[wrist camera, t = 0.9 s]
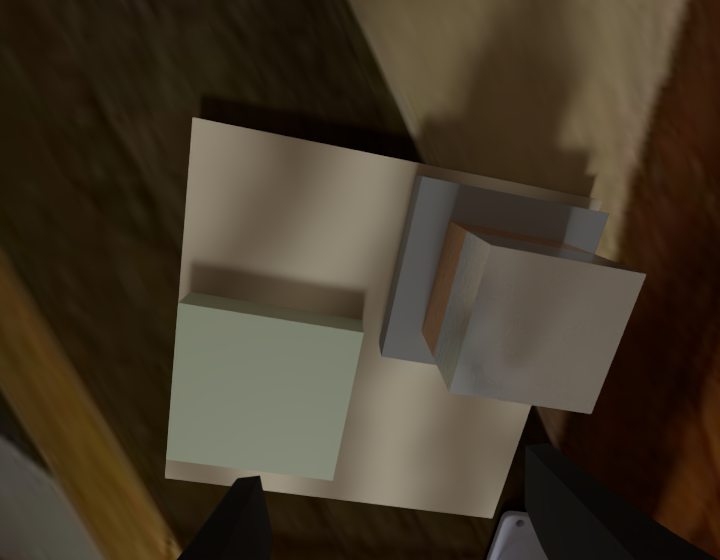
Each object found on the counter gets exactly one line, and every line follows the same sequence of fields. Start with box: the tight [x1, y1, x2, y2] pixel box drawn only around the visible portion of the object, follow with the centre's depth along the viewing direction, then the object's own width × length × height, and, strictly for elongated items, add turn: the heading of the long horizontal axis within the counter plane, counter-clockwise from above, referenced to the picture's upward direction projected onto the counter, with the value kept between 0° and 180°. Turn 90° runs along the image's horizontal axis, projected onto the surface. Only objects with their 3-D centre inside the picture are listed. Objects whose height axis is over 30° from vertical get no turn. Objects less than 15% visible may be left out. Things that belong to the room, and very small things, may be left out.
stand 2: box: [379, 175, 609, 365], centre depth 19 cm, size 8×8×2 cm
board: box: [165, 117, 603, 518], centre depth 21 cm, size 18×18×1 cm
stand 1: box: [166, 292, 364, 481], centre depth 20 cm, size 8×8×2 cm
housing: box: [421, 220, 646, 414], centre depth 16 cm, size 5×5×5 cm
